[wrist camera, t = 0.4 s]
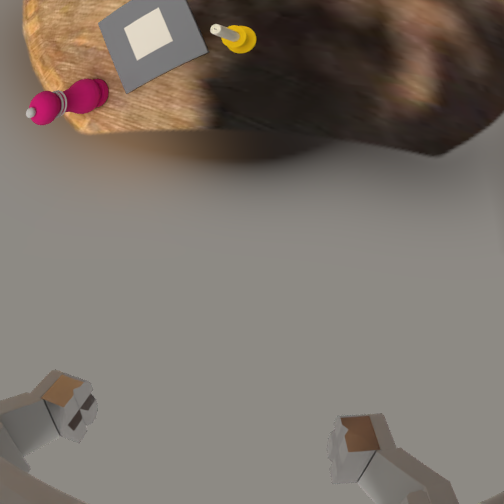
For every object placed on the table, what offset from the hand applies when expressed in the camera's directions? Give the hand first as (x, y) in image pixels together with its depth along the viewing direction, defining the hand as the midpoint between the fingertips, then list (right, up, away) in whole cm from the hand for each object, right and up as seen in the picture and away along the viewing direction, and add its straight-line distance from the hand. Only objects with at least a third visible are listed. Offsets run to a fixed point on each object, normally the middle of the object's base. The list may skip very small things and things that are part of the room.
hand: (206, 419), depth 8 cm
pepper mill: (-30, +38, +42) cm, 64 cm away
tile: (-17, +45, +34) cm, 59 cm away
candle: (0, +41, +34) cm, 53 cm away
